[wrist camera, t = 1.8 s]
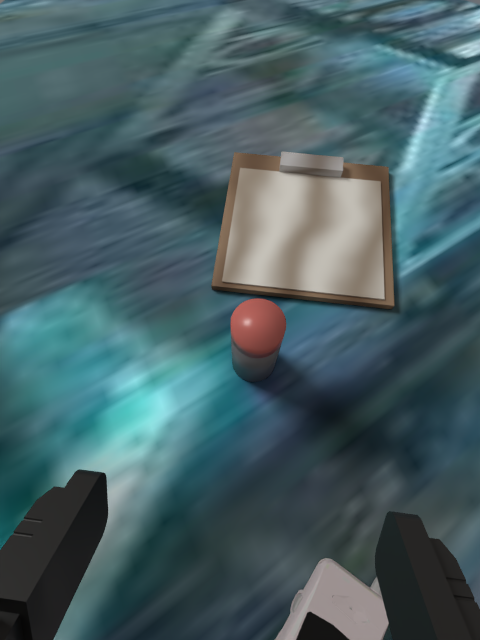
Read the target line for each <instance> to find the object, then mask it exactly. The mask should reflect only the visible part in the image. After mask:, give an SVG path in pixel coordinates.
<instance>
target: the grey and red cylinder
mask: <svg viewBox="0 0 480 640" xmlns="http://www.w3.org/2000/svg"><path fill="white" fill-rule="evenodd" d="M285 330H286V319H285V316H284V314H283V312H282V310H281V309H280V308H279V307H278V306H277V305H276V304H274V303H273V302H271V301H269V300H265V299H258V298H257V299H250V300H247V301H245V302H243V303H241V304H240V305H239V306H238V307H237V308H236V309H235V311H234V312H233V315H232V317H231V343H232V364H233V368H234V370H235V372H236V374H237V375H238V376H239V377H241V378H242V379H244V380H246V381H249V382H259V381H262V380H264V379H266V378H267V377H268V376H270V374H271V373H272V371H273V369H274V366H275V363H276V360H277V356H278V353H279V350H280V347H281V343H282V340H283V337H284V333H285Z"/></svg>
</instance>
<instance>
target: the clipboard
mask: <svg viewBox="0 0 480 640" xmlns="http://www.w3.org/2000/svg"><path fill="white" fill-rule="evenodd" d="M211 286H212V289H213V290H222V291H231V292H240V293H249V294H258V295H267V296H276V297H285V298H294V299H303V300H312V301H321V302H330V303H339V304H348V305H357V306H366V307H375V308H384V309H392V308H393V307H394V286H393V263H392V241H391V218H390V195H389V172H388V167H383V166H373V165H362V164H352V163H343V157H332V156H322V155H311V154H300V153H290V152H281V157H278V156H267V155H257V154H246V153H236V152H234V157H233V163H232V169H231V175H230V180H229V186H228V192H227V198H226V204H225V210H224V215H223V221H222V227H221V233H220V239H219V244H218V250H217V256H216V262H215V268H214V274H213V279H212V285H211Z"/></svg>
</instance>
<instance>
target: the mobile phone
mask: <svg viewBox="0 0 480 640" xmlns="http://www.w3.org/2000/svg"><path fill="white" fill-rule="evenodd" d="M290 610H291V613H290V615H289V617H288V619H287V621H286V623H285V624H284V626H283V628H282V630H281V631H280V632H279V634H278V636H277V637H276V639H275V640H383V637H384V635H385V632H386V630H387V627H388V624H389V622H388V619H387V615H386V611H385V607H384V603H383V599H382V595H381V591H380V587H379V583H378V579H377V577H376V578H375V580H374V582H373V583H372V585H371V587H370V588H369V587H368V586H367V585H365V584H364V583H363V582H361V581H360V580H359V579H357V578H356V577H355V576H354V575H352V574H351V573H350V572H348V571H347V570H346V569H344V568H343V567H342V566H340V565H339V564H338V563H337V562H335V561H333V560H332V559H328V558H325V559H322V560H320V561H319V563H318V564H317V566H316V568H315V570H314V572H313V573H312V575H311V577H310V579H309V580H308V582H307V584H306V586H305V588H304V589H303V590H299V591H298V593H297V594H296V596H295V598H294V600H293V602H292V605H291V608H290Z"/></svg>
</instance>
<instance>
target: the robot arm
mask: <svg viewBox="0 0 480 640" xmlns="http://www.w3.org/2000/svg"><path fill="white" fill-rule="evenodd" d="M107 518H108V501H107V481H106V474H105V473H102V472H94V471H87V470H77V471H76V472H75V473H74V474H73V476H72V477H71V479H70V480H69V482H68V483H67V485H66V486H65V488H62V487H53V488H52V489H51V490H49V491H48V492H47V493H45V494H44V495H43V496H42V497H40V498H39V499H38V500H37V501H36V502H35V503H34V505H33V506H32V507H31V509H30V510H29V512H28V513H27V514H26V516H25V517H24V520H23V521H21V523H20V524H19V525H18V527H17V528H16V529H15V531H14V534H13V535H11V536H10V538H9V539H8V540H7V542H6V543H5V545H4V546H3V547H2V549H1V550H0V640H53V639H54V637H55V635H56V633H57V630H58V628H59V626H60V624H61V622H62V620H63V618H64V616H65V614H66V612H67V609H68V607H69V605H70V603H71V601H72V599H73V597H74V595H75V593H76V590H77V588H78V586H79V584H80V582H81V580H82V578H83V576H84V574H85V572H86V569H87V567H88V565H89V563H90V561H91V559H92V557H93V555H94V553H95V551H96V548H97V546H98V544H99V542H100V540H101V538H102V536H103V533H104V530H105V527H106V523H107ZM375 568H376V575H377V579H378V583H379V587H380V591H381V595H382V599H383V603H384V607H385V611H386V615H387V619H388V622H389V626H390V630H391V634H392V638H393V640H480V609H479V607H478V605H477V603H475V601H474V596H473V594H472V592H471V590H470V588H469V586H468V584H466V579H465V577H464V575H463V573H462V571H461V568H460V566H459V564H458V562H457V560H456V558H455V557H454V556H453V555H452V554H451V552H450V551H449V550H448V549H447V548H446V547H445V545H444V544H443V543H442V542H441V541H440V540H439V539H433V538H429V537H428V534H427V532H426V530H425V527H424V525H423V523H422V520H421V519H420V517H419V516H418V515H413V514H405V513H398V512H390V511H389V512H388V513H387V515H386V518H385V521H384V524H383V528H382V531H381V535H380V538H379V541H378V545H377V548H376V553H375Z"/></svg>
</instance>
